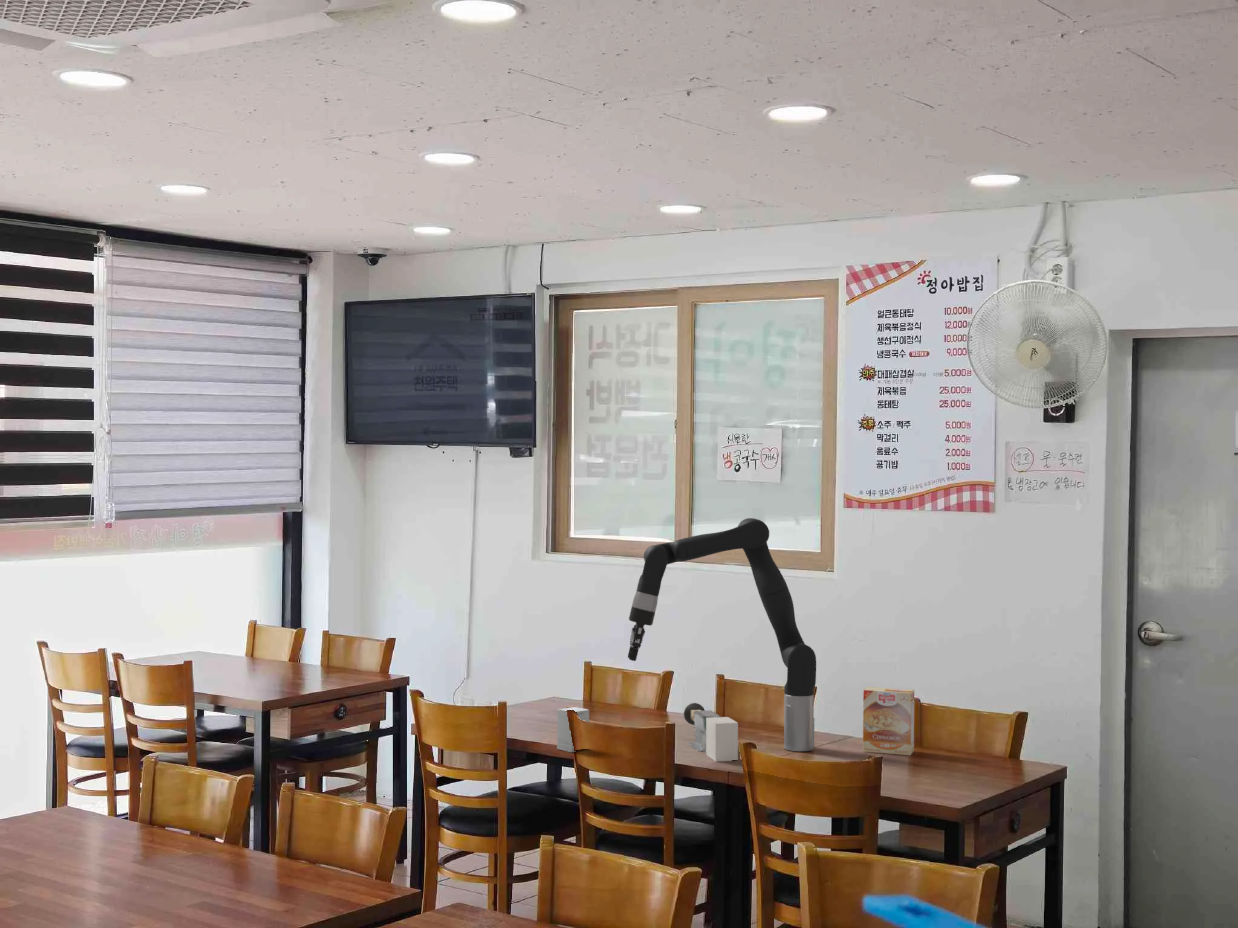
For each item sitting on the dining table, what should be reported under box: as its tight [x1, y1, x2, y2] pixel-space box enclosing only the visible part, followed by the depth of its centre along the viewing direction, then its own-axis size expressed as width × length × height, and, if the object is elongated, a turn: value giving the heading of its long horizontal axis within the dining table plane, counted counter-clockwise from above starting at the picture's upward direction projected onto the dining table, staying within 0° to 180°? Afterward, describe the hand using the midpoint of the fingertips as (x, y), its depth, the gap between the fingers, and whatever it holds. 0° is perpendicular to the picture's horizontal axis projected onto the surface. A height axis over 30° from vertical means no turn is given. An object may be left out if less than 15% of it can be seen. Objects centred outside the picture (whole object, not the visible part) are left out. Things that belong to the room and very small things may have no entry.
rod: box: [683, 702, 706, 726], centre depth 438 cm, size 23×7×7 cm, turn 13°
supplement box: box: [556, 706, 590, 753], centre depth 430 cm, size 7×7×13 cm
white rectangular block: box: [705, 716, 739, 762], centre depth 419 cm, size 10×7×11 cm
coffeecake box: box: [862, 686, 915, 756], centre depth 429 cm, size 15×7×20 cm, turn 70°
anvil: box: [687, 709, 721, 753], centre depth 435 cm, size 12×9×11 cm
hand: (631, 659), depth 425 cm, fingers open, 8 cm apart
